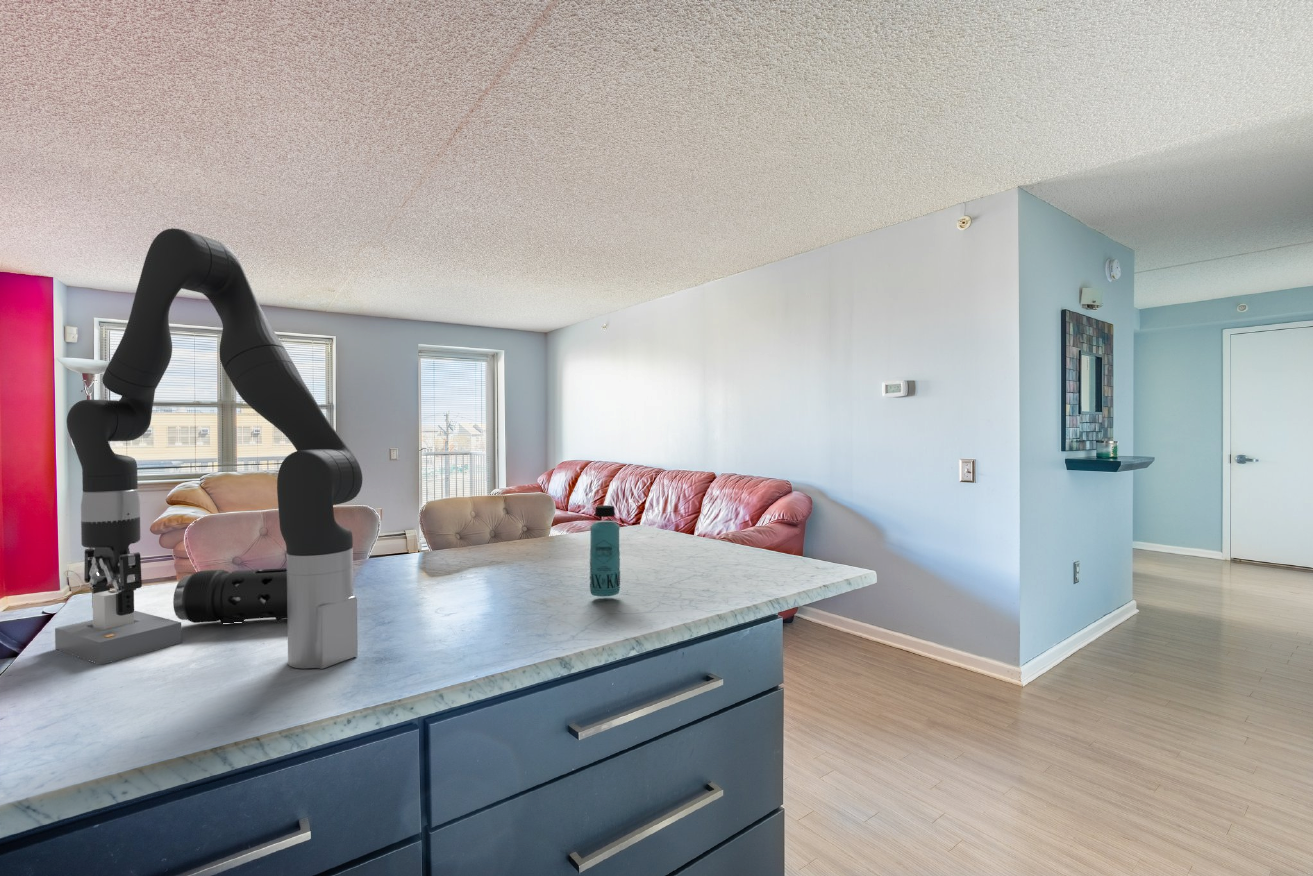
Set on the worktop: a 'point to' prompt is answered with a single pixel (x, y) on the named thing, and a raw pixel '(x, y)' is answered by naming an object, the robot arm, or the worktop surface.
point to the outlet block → (118, 638)
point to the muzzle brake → (231, 595)
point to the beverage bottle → (604, 555)
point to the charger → (108, 611)
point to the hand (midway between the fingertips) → (113, 611)
